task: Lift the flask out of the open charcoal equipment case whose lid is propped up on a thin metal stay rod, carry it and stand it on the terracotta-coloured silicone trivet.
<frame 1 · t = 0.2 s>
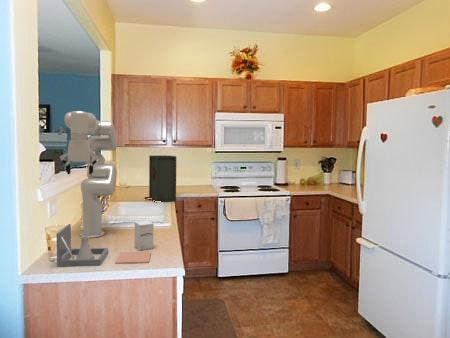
hand: (79, 174, 162), 36 cm above the countertop, tool pointing down, fingers open, 9 cm apart
supplement box: (143, 248, 169), on the countertop
flask: (85, 259, 150), resting in case
case: (85, 259, 150), on the countertop
trivet: (134, 257, 154), on the countertop
first aid box: (162, 200, 306), on the countertop
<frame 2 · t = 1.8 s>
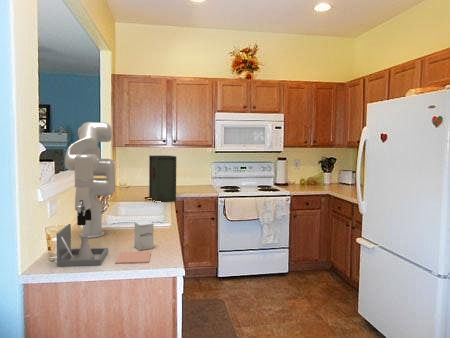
hand: (84, 222, 149), 17 cm above the countertop, tool pointing down, fingers open, 9 cm apart
nothing on the countertop moved.
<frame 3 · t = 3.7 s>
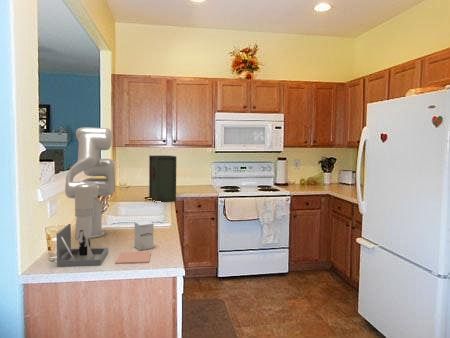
hand: (84, 252, 150), 3 cm above the countertop, tool pointing down, fingers closed on flask, 4 cm apart
flask: (85, 259, 150), resting in case, touching gripper
everything else where it was.
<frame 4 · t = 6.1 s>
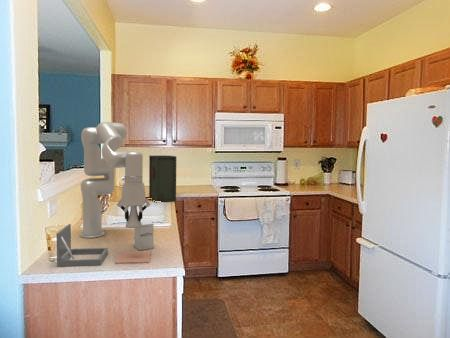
hand: (133, 220, 152), 17 cm above the countertop, tool pointing down, fingers closed on flask, 4 cm apart
flask: (133, 227, 152), point 14 cm above the countertop, touching gripper
everything else where it was.
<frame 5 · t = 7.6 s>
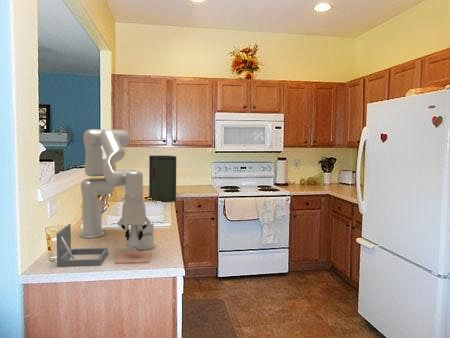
hand: (134, 238, 153), 9 cm above the countertop, tool pointing down, fingers closed on flask, 4 cm apart
flask: (134, 245, 153), point 6 cm above the countertop, touching gripper
everything else where it was.
when the fingers open (5 cm above the countertop, at t = 8.7 s): flask drops 1 cm, resting on trivet.
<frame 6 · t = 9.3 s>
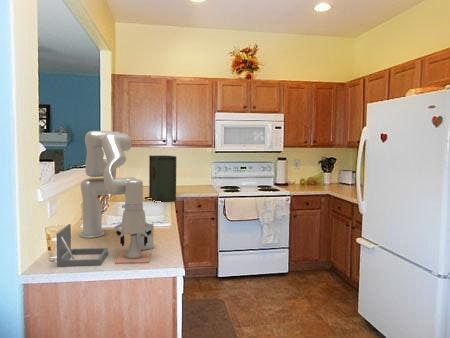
hand: (134, 245, 153), 6 cm above the countertop, tool pointing down, fingers open, 9 cm apart
flask: (133, 257, 154), resting on trivet
everything else where it was.
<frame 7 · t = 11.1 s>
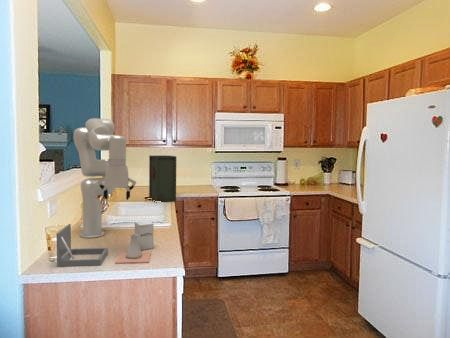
hand: (116, 199, 160), 25 cm above the countertop, tool pointing down, fingers open, 9 cm apart
nothing on the countertop moved.
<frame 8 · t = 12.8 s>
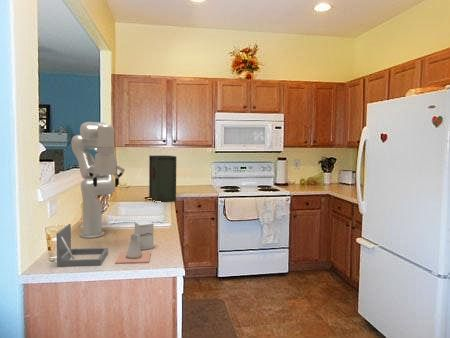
hand: (106, 186, 165), 30 cm above the countertop, tool pointing down, fingers open, 9 cm apart
nothing on the countertop moved.
at the end: flask inside the target area on the trivet (0.2 cm from its centre), point 0.4 cm above the trivet's base; flask tilted 0°; the gripper is holding nothing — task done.
